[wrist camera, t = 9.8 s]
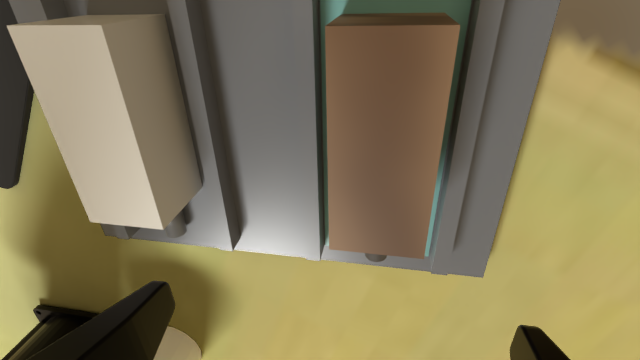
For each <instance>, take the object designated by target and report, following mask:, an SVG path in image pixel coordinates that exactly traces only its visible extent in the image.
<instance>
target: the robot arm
mask: <svg viewBox="0 0 640 360" xmlns="http://www.w3.org/2000/svg"><path fill="white" fill-rule="evenodd" d="M174 309H175V301H174V298H173V295H172V292H171V289H170V286H169V284H168V283H167V282H162V281H152V282H150V283H148V284H147V285H145V286H143V287H142V288H140V289H139V290H137V291H135V292H134V293H132V294H131V295H129V296H127V297H126V298H124V299H123V300H121V301H119V302H118V303H116V304H115V305H113V306H111V307H110V308H108V309H107V310H105V311H103V312H102V313H100V314H99V315H97V314H94V313H88V312H81V311H75V310H68V309H62V308H55V307H49V306H43V305H38V306H37V307H36V308H34V310H33V311H34V313H35V315H36V316H37V318H38V319H39V321H40V323H39V324H38V325H37V326H36V327H35V328H34V329H33V330H31V331H30V332H29V333H28V334H27V335H26V336H25V337H24V338H23V339H22V340H21V341H20V342H19V343H18V344H17V345H16V346H15V347H14V348H13V349H12V350H11V351H10V352H9V353H8V354H7V355H6V356H5V357H4V358H3V359H2V360H154V357H155V355H156V353H157V350H158V348H159V346H160V343H161V341H162V338H163V336H164V334H165V331H166V329H167V327H168V324H169V322H170V319H171V317H172V315H173V312H174ZM510 359H511V360H570V359H569V358H568V357H567V356H566V355H565V354H564V353H563V351H562V350H561V349H560V348H559V347H558V346H557V345H556V344H555V343H554V342H553V341H552V340H551V339H550V338H549V337H548V336H547V335H546V334H545V333H544V332H543V331H542V330H541V329H540V328H538V327H535V326H527V325H520V326H518V328H517V330H516V333H515V335H514V338H513V341H512V344H511V347H510Z"/></svg>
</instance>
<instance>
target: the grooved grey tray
mask: <svg viewBox="0 0 640 360" xmlns="http://www.w3.org/2000/svg"><path fill="white" fill-rule="evenodd" d="M560 1H561V0H9V3H10V5H11V7H12V10H13V12H14V15H15V17H16V20H17V22H18V24H22V23H29V22H37V21H45V20H52V19H60V18H67V17H75V16H83V15H138V14H165V18H166V23H167V28H168V32H169V37H170V41H171V46H172V50H173V55H174V59H175V64H176V69H177V73H178V78H179V82H180V87H181V91H182V96H183V100H184V105H185V110H186V114H187V119H188V123H189V128H190V132H191V137H192V141H193V146H194V151H195V155H196V160H197V164H198V169H199V173H200V178H201V183H202V188H201V189H200V190H199V191H198V193H197V194H196V195H195V196H194V197H193V198H192V199H191V200H190V201H189V202H188V203H187V205H186V206H185V207H184V208H183V209H182V212H183V216H184V219H185V223H186V227H187V232H186V233H185V234H184V235H182V236H180V237H177V238H169V237H167V235H166V232H165V229H164V230H161V229H151V228H142V227H132V226H122V225H113V224H103V223H100V224H101V227H102V229H103V231H104V234H105V235H106V236H115V237H117V238H120V239H130V238H133V239H142V240H151V241H160V242H169V243H178V244H187V245H196V246H205V247H213V248H220V250H227V251H233V250H240V251H249V252H258V253H267V254H276V255H285V256H294V257H303V258H306V259H307V260H316V261H320V260H330V261H339V262H348V263H357V264H366V265H375V266H384V267H393V268H402V269H411V270H420V271H429V272H431V274H440V275H447V274H455V275H464V276H473V277H482V278H483V276H484V272H485V268H486V265H487V261H488V258H489V254H490V251H491V247H492V243H493V240H494V236H495V233H496V229H497V226H498V222H499V218H500V215H501V211H502V208H503V204H504V201H505V197H506V193H507V190H508V186H509V183H510V179H511V176H512V172H513V168H514V165H515V161H516V158H517V154H518V151H519V147H520V143H521V140H522V136H523V133H524V129H525V126H526V122H527V118H528V115H529V111H530V108H531V104H532V101H533V97H534V93H535V90H536V86H537V83H538V79H539V76H540V72H541V68H542V65H543V61H544V58H545V54H546V51H547V47H548V43H549V40H550V36H551V33H552V29H553V25H554V22H555V18H556V15H557V11H558V7H559V4H560ZM368 13H446V14H447V15H448V16H450V17H451V18H452V19H453V20H455V21H456V22H457V23H458V24H460V31H459V38H458V44H457V51H456V57H455V63H454V70H453V76H452V83H451V89H450V95H449V102H448V108H447V115H446V121H445V127H444V134H443V140H442V147H441V153H440V159H439V166H438V172H437V179H436V185H435V192H434V198H433V204H432V211H431V217H430V224H429V230H428V236H427V243H426V249H425V256H424V259H417V258H407V257H398V256H388V255H387V258H386V259H385V260H384V261H381V262H373V261H370V260H368V259H367V258H366V256H365V253H359V252H349V251H340V250H330V249H329V211H328V158H327V104H326V51H325V26H326V25H327V24H329V23H330V22H331V21H333V20H334V19H335V18H337V17H338V16H340V15H341V14H368Z"/></svg>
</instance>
